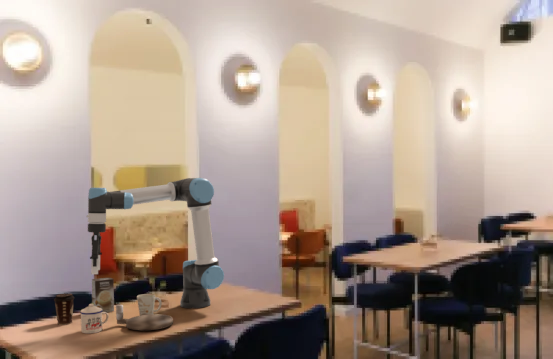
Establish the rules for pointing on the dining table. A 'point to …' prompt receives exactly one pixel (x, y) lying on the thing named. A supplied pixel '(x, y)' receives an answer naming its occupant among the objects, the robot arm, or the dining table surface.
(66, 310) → the coffee cup
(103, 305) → the coffee box
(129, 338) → the dining table surface
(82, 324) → the teacup with lid
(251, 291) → the dining table surface
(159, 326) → the turntable
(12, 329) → the dining table surface
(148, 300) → the mug
